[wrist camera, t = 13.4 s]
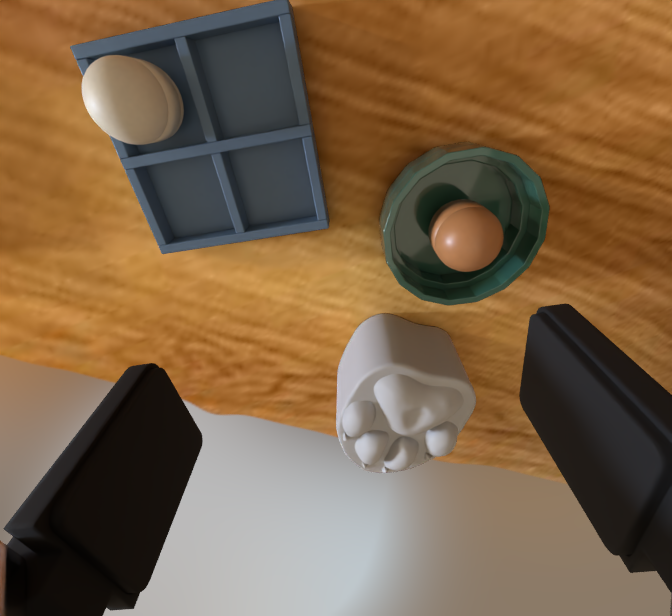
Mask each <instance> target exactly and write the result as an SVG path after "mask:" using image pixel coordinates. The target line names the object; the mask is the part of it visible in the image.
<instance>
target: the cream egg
mask: <svg viewBox="0 0 672 616" xmlns="http://www.w3.org/2000/svg"><path fill="white" fill-rule="evenodd" d="M82 96H83V100H84V103H85V106H86V109H87V110H88V112H89V114H90V116H91V117H92V119H93V120H94V121H95V123H96V124H97V125H98V126H99V127H100V128H101V129H102V130H103V131H105V132H106V133H107V134H108V135H110V136H112V137H113V138H115V139H117V140H119V141H122V142H125V143H128V144H135V145H143V144H150V143H155V142H160V141H163V140H166V139H168V138H170V137H171V136H173V135H174V134H175V133H176V132H177V131H178V129H179V127H180V125H181V123H182V120H183V115H184V107H183V101H182V97H181V94H180V92H179V90H178V88H177V86H176V85H175V83H174V82H173V80H172V79H171V78H170V77H169V76H168V74H166V73H165V72H164V71H163V70H162V69H161V68H159V67H157V66H156V65H154V64H152V63H150V62H147V61H144V60H141V59H136V58H132V57H127V56H122V55H108V56H104V57H101V58H99V59H97V60H96V61H94V62H93V63H92V64H90V66H89V67H88V68H87V70H86V72H85V74H84V77H83V81H82Z"/></svg>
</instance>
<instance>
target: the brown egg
mask: <svg viewBox="0 0 672 616" xmlns="http://www.w3.org/2000/svg"><path fill="white" fill-rule="evenodd" d="M428 234H429V240H430V243H431V246H432V247H433V249H434V251H435V252H436V254H437V255H438V257H439V259H440V260H441V261H442V262H443V263H444V264H445V265H446V266H448V267H450V268H451V269H454V270H457V271H462V272H471V271H476V270H479V269H482V268H484V267H486V266H487V265H489V264H490V263H491V262H492V261H493V260H494V259H495V258H496V257H497V255H498V254H499V252H500V250H501V247H502V245H503V239H504V237H503V229H502V225H501V223H500V221H499V220H498V218H497V217H496V216H495V215H494V214H493V213H492V212H491V211H489V210H488V209H486V208H485V207H484V206H482V205H481V204H479V203H477V202H475V201H472V200H467V199H460V200H455V201H451V202H449V203H447V204H445V205H444V206H442V207H441V208H440V209H439V210H438V211H437V212H436V213H435V214H434V216H433V218H432V220H431V222H430V226H429V233H428Z"/></svg>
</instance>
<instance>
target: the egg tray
mask: <svg viewBox="0 0 672 616" xmlns="http://www.w3.org/2000/svg"><path fill="white" fill-rule="evenodd" d="M70 48H71V50H72V52H73V55H74V57H75V59H76V60H77V64H78V66H79V68H80V70H81V73H82V75H83V77H84V74H85V72H86V70H87V68H88V67H89V66H90V64H92V63H93V62H94V61H96V60H97V59H99V58H101V57H104V56H108V55H122V56H127V57H132V58H136V59H141V60H144V61H147V62H150V63H152V64H154V65H156V66H157V67H159V68H161V69H162V70H163V71H164V72H165V73H166V74H168V76H169V77H170V78H171V79H172V80H173V82H174V83H175V85H176V86H177V88H178V90H179V92H180V94H181V97H182V101H183V107H184V115H183V120H182V123H181V125H180V127H179V129H178V131H177V132H176V133H175V134H174V135H173V136H171V137H170V138H168V139H166V140H163V141H160V142H155V143H150V144H143V145H135V144H128V143H125V142H122V141H119V140H117V139H115V138H113V137H112V136H110V135H109V136H110V138H111V140H112V142H113V145H114V147H115V149H116V151H117V154H118V156H119V158H120V160H121V163H122V165H123V167H124V169H125V172H126V174H127V176H128V178H129V181H130V183H131V185H132V187H133V190H134V192H135V194H136V196H137V199H138V201H139V203H140V205H141V208H142V210H143V212H144V214H145V217H146V219H147V221H148V223H149V226H150V228H151V230H152V232H153V235H154V237H155V239H156V241H157V244H158V245H159V248H160V250H161V253H162V254H166V253H173V252H179V251H186V250H192V249H199V248H205V247H212V246H218V245H224V244H231V243H237V242H244V241H250V240H257V239H263V238H269V237H276V236H282V235H289V234H295V233H302V232H308V231H315V230H321V229H327V228H329V215H328V209H327V203H326V197H325V192H324V186H323V180H322V175H321V169H320V163H319V157H318V152H317V146H316V140H315V135H314V129H313V123H312V117H311V112H310V106H309V100H308V95H307V89H306V83H305V77H304V72H303V66H302V60H301V55H300V49H299V43H298V37H297V32H296V26H295V20H294V15H293V9H292V5H291V4H290V2H289V0H273V1H269V2H264V3H260V4H255V5H251V6H246V7H242V8H238V9H233V10H229V11H224V12H220V13H215V14H211V15H206V16H202V17H197V18H193V19H189V20H184V21H180V22H175V23H171V24H166V25H162V26H157V27H153V28H148V29H144V30H140V31H135V32H131V33H126V34H122V35H117V36H113V37H108V38H104V39H99V40H95V41H90V42H86V43H82V44H77V45H73V46H70Z"/></svg>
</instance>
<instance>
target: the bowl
mask: <svg viewBox="0 0 672 616" xmlns="http://www.w3.org/2000/svg"><path fill="white" fill-rule="evenodd" d="M460 199H467V200H472V201H475V202H477V203H479V204H481V205H482V206H484V207H485V208H486V209H488V210H489V211H491V212H492V213H493V214H494V215H495V216H496V217H497V218H498V220H499V221H500V223H501V225H502V229H503V237H504V239H503V245H502V247H501V250H500V252H499V254H498V255H497V257H496V258H495V259H494V260H493V261H492V262H491V263H490V264H489V265H487V266H486V267H484V268H482V269H479V270H476V271H471V272H462V271H457V270H454V269H451V268H450V267H448V266H446V265H445V264H444V263H443V262H442V261H441V260H440V259H439V257H438V255H437V254H436V252H435V251H434V249H433V247H432V246H431V243H430V240H429V234H428V233H429V226H430V222H431V220H432V218H433V216H434V214H435V213H436V212H437V211H438V210H439V209H440V208H441V207H442V206H444V205H445V204H447V203H449V202H451V201H455V200H460ZM549 209H550V208H549V203H548V200H547V197H546V193H545V190H544V187H543V184H542V180H541V178H540V176H539V175H538V174H537V173H536V172H535V171H533V170H532V169H531V168H530V167H529V166H528V165H527V164H526V163H525V162H524V161H523V160H522V159H521V158H520V157H519V156H517V155H515V154H511V153H508V152H504V151H501V150H497V149H494V148H490V147H486V146H483V145H479V144H475V143H472V142H461V143H455V144H450V145H444V146H438V147H435V148H433V149H431V150H430V151H428V152H426V153H425V154H423V155H422V156H420V157H418V158H417V159H415V160H414V161H412V162H410V163H409V164H408V165H406V166H405V168H404V169H403V170H402V172H401V173H400V174H399V176H398V177H397V178H396V179H395V181H394V182H393V183H392V185H391V186H390V187H389V189H388V190H387V193H386V196H385V200H384V203H383V206H382V210H381V213H380V216H379V225H380V235H381V244H382V248H383V252H384V255H385V259H386V262H387V264H388V266H389V267H390V269H391V271H392V272H393V274H394V276H395V278H396V279H397V281H398V283H399V284H400V285H401V286H402V287H404V288H405V289H407V290H408V291H410V292H411V293H412V294H414V295H415V296H417V297H418V298H420V299H422V300H425V301H430V302H434V303H439V304H443V305H457V304H464V303H472V302H478V301H480V300H482V299H484V298H487V297H489V296H491V295H493V294H495V293H497V292H499V291H501V290H504V289H505V288H507V287H508V286H509V285H510V284H511V283H512V282H513V281H514V280H515V279H517V278H518V277H519V276H520V275H521V274H522V273H523V272H524V271H525V270H526V269H528V268H529V266H530V265H531V263H532V261H533V259H534V257H535V256H536V254H537V252H538V250H539V249H540V247H541V245H542V243H543V242H544V240H545V236H546V229H547V222H548V216H549Z"/></svg>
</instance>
